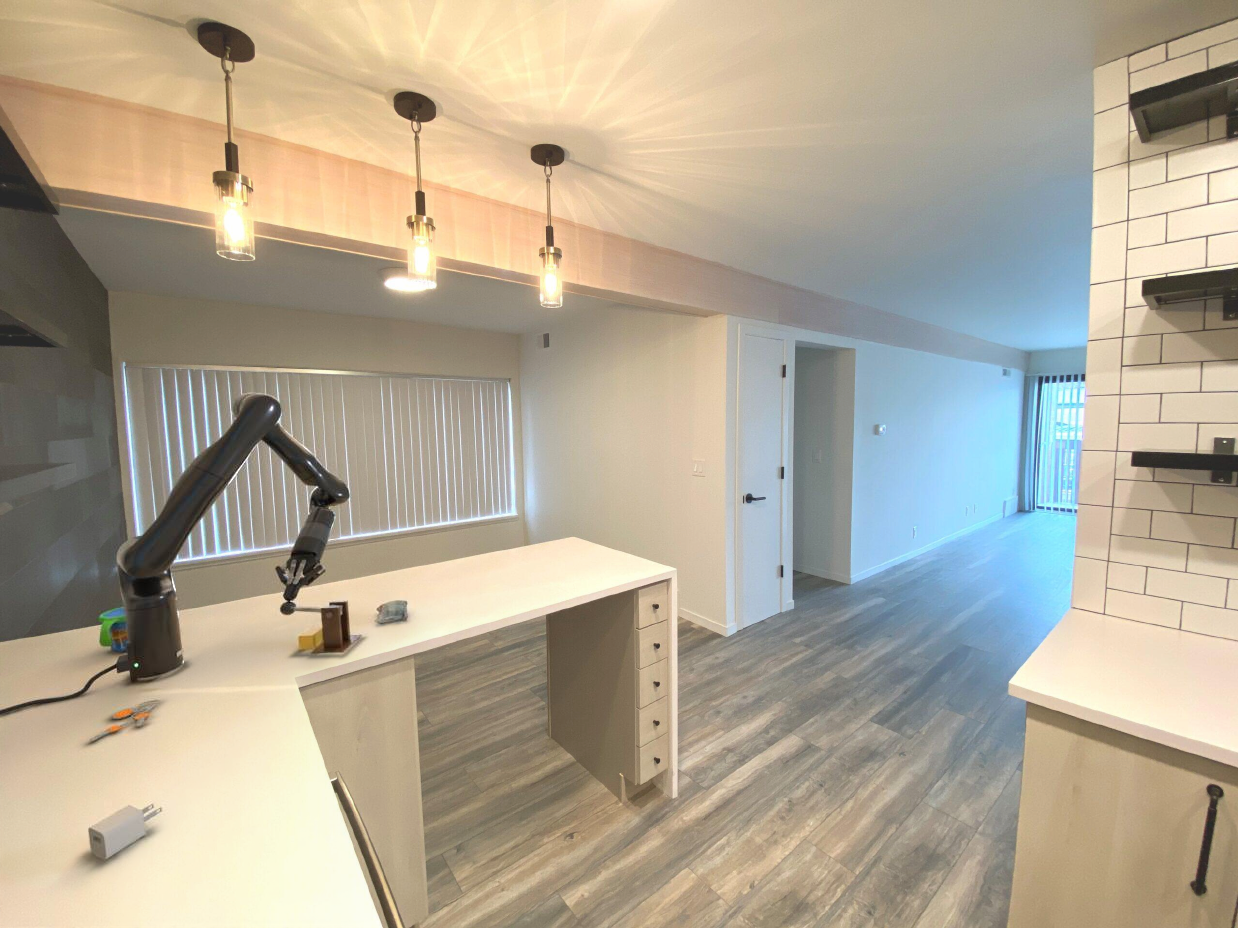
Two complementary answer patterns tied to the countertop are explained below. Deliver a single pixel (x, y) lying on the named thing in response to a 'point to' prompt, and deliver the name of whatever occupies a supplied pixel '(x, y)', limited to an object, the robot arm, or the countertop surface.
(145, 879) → the countertop surface
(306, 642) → the butter
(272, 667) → the countertop surface
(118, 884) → the countertop surface
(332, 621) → the brown lever base bracket
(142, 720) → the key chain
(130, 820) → the usb wall charger
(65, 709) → the countertop surface
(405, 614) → the packaged food
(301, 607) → the ball-knob lever
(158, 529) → the robot arm
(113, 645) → the snack cup
